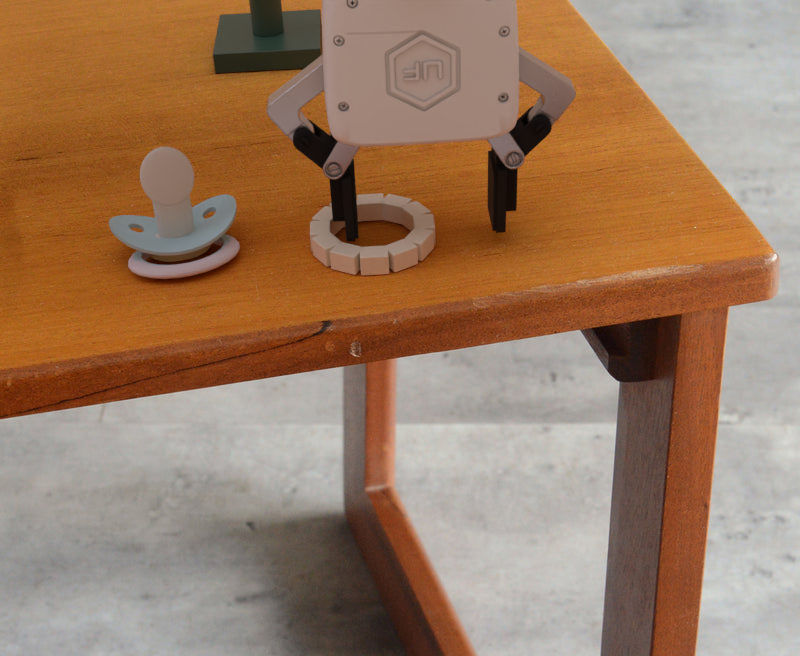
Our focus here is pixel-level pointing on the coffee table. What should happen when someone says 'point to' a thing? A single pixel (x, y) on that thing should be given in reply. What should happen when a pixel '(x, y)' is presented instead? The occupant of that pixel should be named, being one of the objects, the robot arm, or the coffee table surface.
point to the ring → (375, 257)
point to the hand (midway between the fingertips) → (424, 223)
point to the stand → (267, 38)
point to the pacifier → (176, 221)
